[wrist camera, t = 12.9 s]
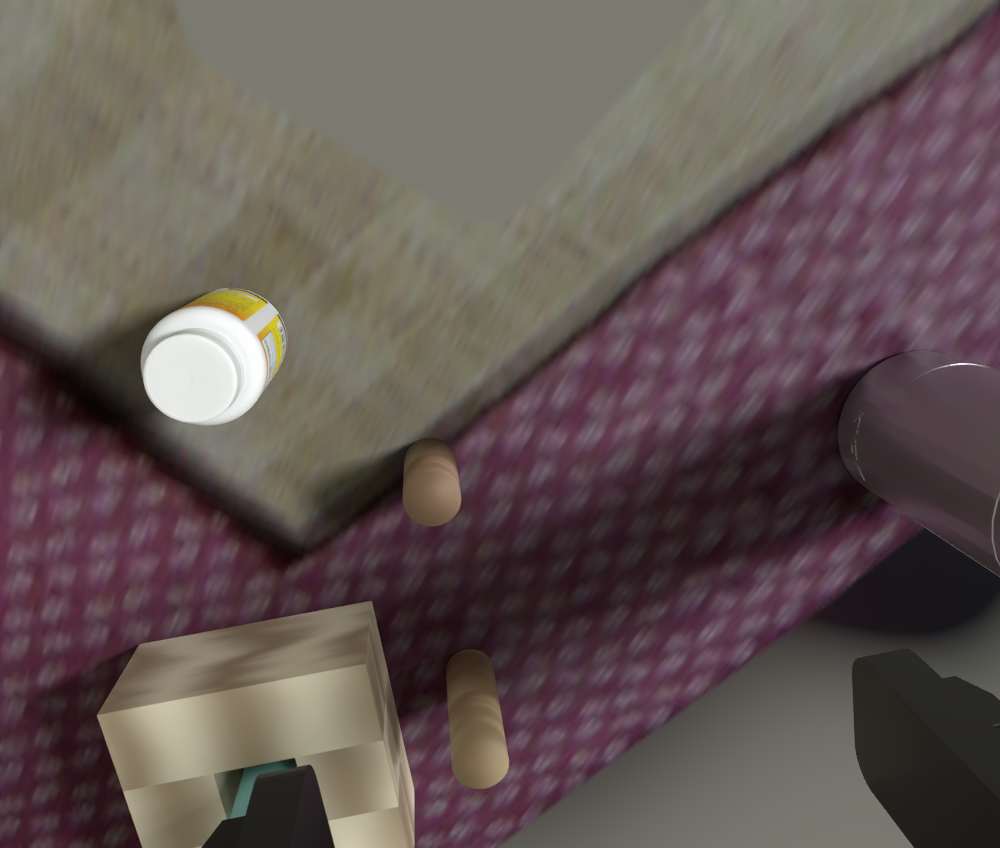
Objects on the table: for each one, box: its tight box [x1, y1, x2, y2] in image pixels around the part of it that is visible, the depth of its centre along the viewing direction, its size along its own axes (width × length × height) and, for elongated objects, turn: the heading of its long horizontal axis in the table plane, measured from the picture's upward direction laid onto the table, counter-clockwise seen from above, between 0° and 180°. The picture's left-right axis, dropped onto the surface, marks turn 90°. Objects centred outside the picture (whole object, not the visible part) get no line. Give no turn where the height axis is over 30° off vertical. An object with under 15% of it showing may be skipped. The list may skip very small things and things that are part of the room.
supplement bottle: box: [141, 288, 287, 425], centre depth 41 cm, size 6×6×10 cm
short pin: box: [403, 438, 461, 527], centre depth 46 cm, size 3×3×6 cm
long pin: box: [230, 758, 297, 819], centre depth 46 cm, size 3×3×14 cm
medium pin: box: [446, 649, 509, 789], centre depth 48 cm, size 3×3×9 cm
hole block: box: [97, 601, 414, 848], centre depth 49 cm, size 14×14×7 cm
